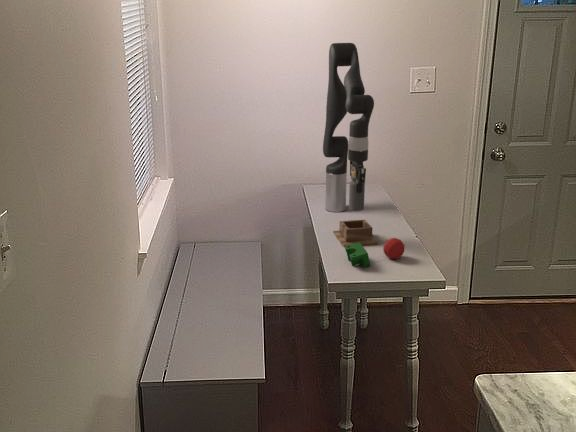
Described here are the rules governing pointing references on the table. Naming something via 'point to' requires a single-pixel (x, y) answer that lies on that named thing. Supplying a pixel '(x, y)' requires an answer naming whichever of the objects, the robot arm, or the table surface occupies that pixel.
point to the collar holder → (355, 233)
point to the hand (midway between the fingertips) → (356, 190)
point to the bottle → (356, 195)
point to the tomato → (394, 248)
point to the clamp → (357, 254)
